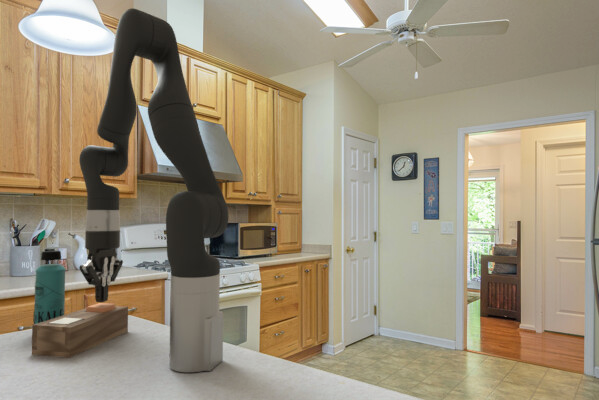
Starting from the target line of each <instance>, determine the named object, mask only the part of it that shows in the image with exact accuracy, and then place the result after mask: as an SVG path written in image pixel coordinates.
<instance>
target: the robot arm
mask: <svg viewBox="0 0 599 400" xmlns="http://www.w3.org/2000/svg"><path fill="white" fill-rule="evenodd" d="M113 43H114V44H113V49H112V50H113V51H112V57H111V64H110V71H109V73H110V74H109V81H108V88H107V93H106V97H105V98H106V99H105V102H104V105H103V109H102V111H101V115H100V119H99V122H98V125H97V129H96V130H97V135H98V136H99V137H100V138H101V139H102V140H104V141H106V142H108V143H111V144H112V147H108V146H107V147H106V146H100V145H92V144H90V145H87V146H85V147H84V148H83V149H82V150H81V151H80V154H79V161H78V162H79V167H80V170H81V174H82V177H83V180H84V181H83V182H84V185H85V189H86V195H87V197H86V199H87V200H86V201H87V202H86V215H85V233H84V234H85V236H84V237H85V238H84V240H85V241H84V242H85V243H84V248H85V250H88V254H87V258H86V259H87V261H86V262H85V263H84V264H80V265H79V271H80V272H81V274H82V275H83V277H84V279H85V281H86V282H87V284H88V285H91V286H94V288H95V289H94V295H95V296H94V297H95V302H96V303H105V302H107V301H108V300H109V286H110V285H111V283H113V282H115V281H116V279H117V277H118V274H119V272H120V270H121V269H122V265H123V263H124V261H123V259H119V258H118V254H117V249H119V248H120V245H121V244H120V243H121V241H120V240H121V217H120V190H119V189H118V188H117V187H116V186H113V185H109V184H106V183H105V182H104V181H103V180H102V176H104V177H120V176H122V175H123V174H125V172H126V171H127V169H128V166H129V144H130V143H129V140H130V136H131V133H132V130H133V127H134V123H135V121H136V117H137V111H138V106H137V104H138V103H137V98H136V95H135V92H134V91H135V90H134V87H133V83H132V74H131V73H132V66H133V62H134V59H135V57H138V58H143V59H146V60H148V61H151V62H152V64H153V66H154V68H155V71H156V72H155V73H156V78H157V82H156V86H155V88H154V90H153V92H152V95H151V96H150V99H149V101H148V105H147V106H148V107H147V115H148V120H149V123H150V128H151V130H152V134H153V137H154V139H155V142H156V143H157V146H158V147H159V149H160V150H161V152H162V153H163V154H164V155H165V156H166V158H167V159H168V160H169V161H170V163H171V164H172V165H173V167H175V169H176V170H177V171H178V173H179V174H180V176H181V178H182V180H183V182H184V183H185V186H186V190H185V191H184V190H183V191H179V192H177V193H175V194H174V195H173V196H172V197H171V199H170V200H169V202H168V205H167V208H166V215H165V217H166V218H165V230H166V231H165V234H166V235H165V236H166V257H167V261H168V263H169V266H170V299H169V300H170V303H169V304H170V306H169V307H170V309H169V313H170V314H169V368H170V369H171V370H172V371H175V372H180V373H197V372H210V371H212V370H214V368H216V367H217V366H218V365H219V364H220V363H221V362H222V361H223V358H224V356H223V355H224V354H223V353H224V347H223V346H224V345H223V344H224V312H223V311H222V310H221V311H220V286H221V284H220V281H221V280H220V279H221V278H220V277H221V276H220V275H221V263H220V260H219V258H217V257H216V256H213V255H211V254H209V252H208V251H207V249H206V246H205V239H213V238H217V237H219V236H221V235H223V233H224V232H225V231H226V229H227V227H228V225H229V210H228V206H227V202H226V200H225V197H224V194H223V192H222V190H221V187H220V184H219V183H218V181H217V178H216V176H215V173H214V171H213V168H212V166H211V163H210V160H209V156H208V153H207V150H206V148H205V145H204V144H205V143H204V141H203V138H202V135H201V131H200V127H199V124H198V120H197V116H196V113H195V110H194V107H193V104H192V101H191V98H190V94H189V91H188V88H187V84H186V80H185V76H184V72H183V68H182V63H181V58H180V52H179V46H178V42H177V37H176V33H175V31H174V28H173V27H172V26H171V25H170V23H169V22H167V20H164V19H162V18H160V17H158V16H155V15H152V14H150V13H147V12H146V11H143V10H140V9H137V8H133V7H132V8H128V9H126V10H125V11H124V12H123V13H122V15H121V16H120V17H119V21H118V24H117V27H116V30H115V35H114V42H113Z"/></svg>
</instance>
